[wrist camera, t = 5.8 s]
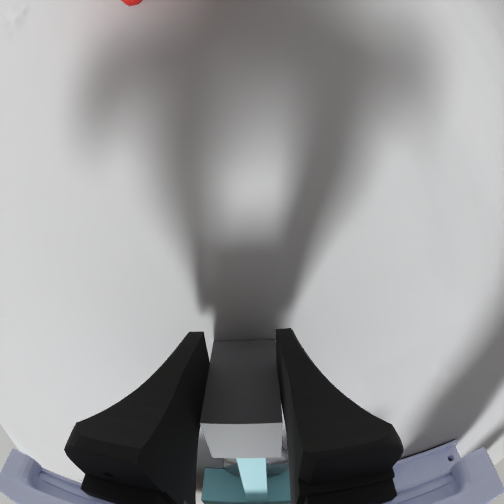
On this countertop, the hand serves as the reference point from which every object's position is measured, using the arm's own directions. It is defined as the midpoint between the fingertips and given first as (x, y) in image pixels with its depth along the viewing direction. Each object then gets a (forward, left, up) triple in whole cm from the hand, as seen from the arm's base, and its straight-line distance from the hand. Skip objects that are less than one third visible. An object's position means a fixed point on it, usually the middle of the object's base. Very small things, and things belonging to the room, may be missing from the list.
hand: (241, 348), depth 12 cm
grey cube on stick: (0, +9, -2) cm, 9 cm away
